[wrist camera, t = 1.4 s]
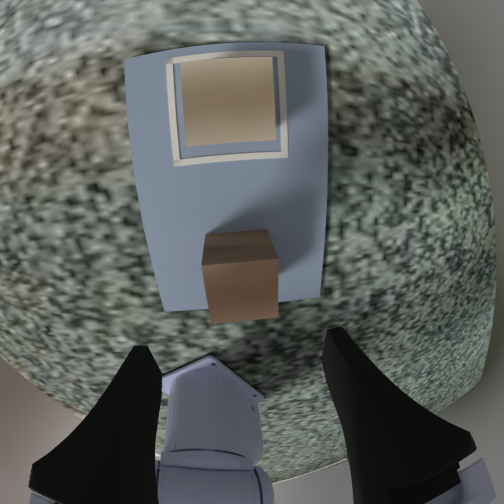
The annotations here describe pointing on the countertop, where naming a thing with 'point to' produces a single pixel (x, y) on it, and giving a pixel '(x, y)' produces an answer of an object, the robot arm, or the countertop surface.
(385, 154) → the countertop surface
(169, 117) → the board
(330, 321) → the countertop surface
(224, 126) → the maple block
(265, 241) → the walnut block
